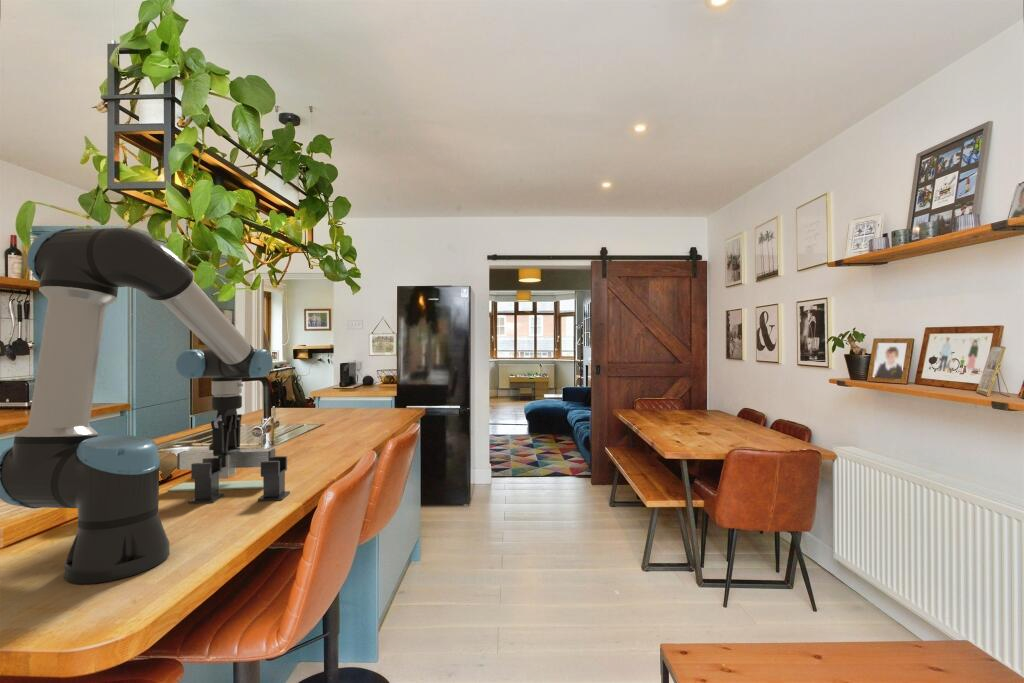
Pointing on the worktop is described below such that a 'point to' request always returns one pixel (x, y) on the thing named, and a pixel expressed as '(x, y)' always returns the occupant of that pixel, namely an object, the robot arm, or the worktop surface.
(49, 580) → the worktop surface
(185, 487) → the mat
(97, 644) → the worktop surface
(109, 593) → the worktop surface
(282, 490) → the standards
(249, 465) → the rail
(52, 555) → the worktop surface
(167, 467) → the bread roll
